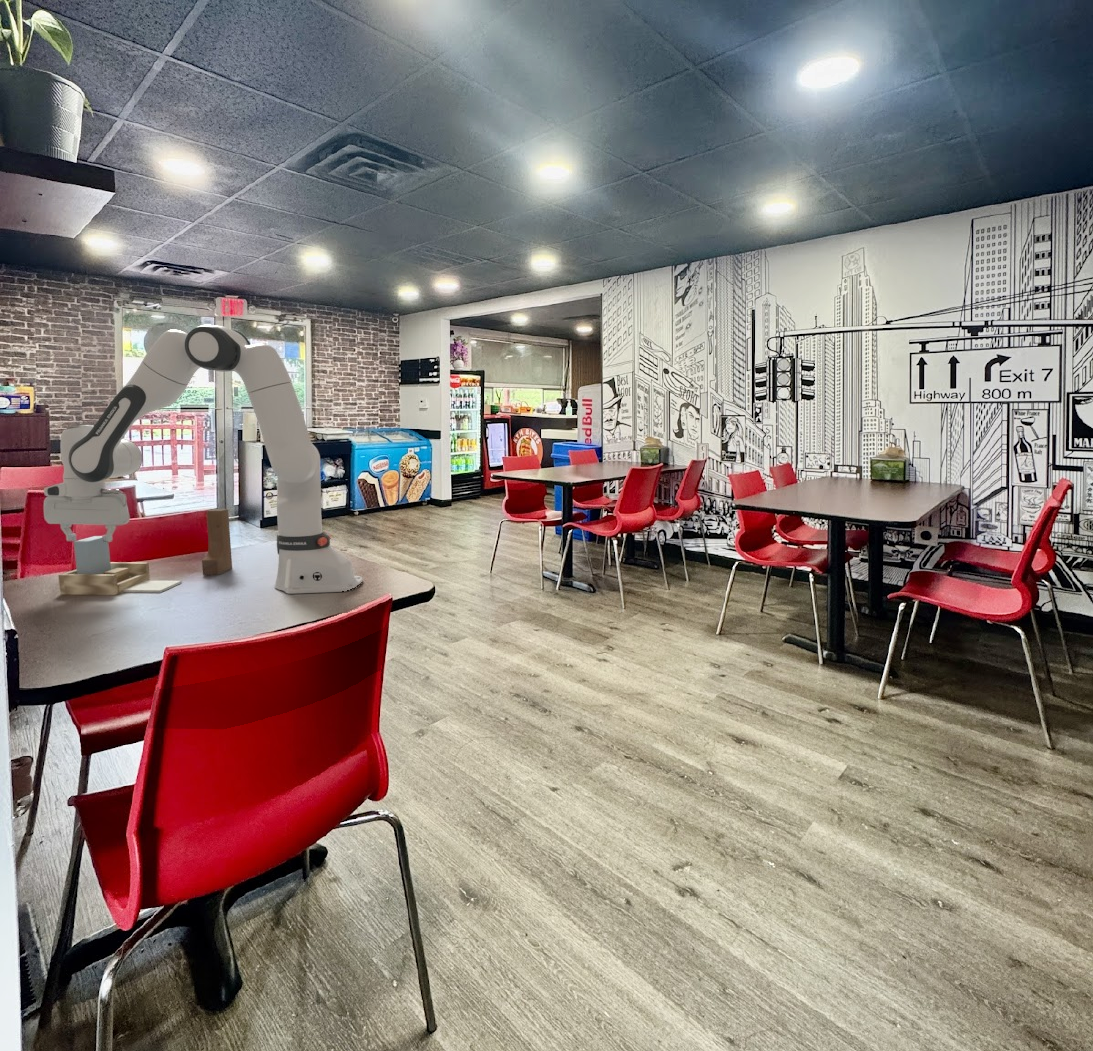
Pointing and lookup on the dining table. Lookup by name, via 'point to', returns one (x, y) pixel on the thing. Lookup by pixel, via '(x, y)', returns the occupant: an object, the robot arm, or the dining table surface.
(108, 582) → the tray
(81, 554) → the grey block
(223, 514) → the wooden block
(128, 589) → the felt pad
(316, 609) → the dining table surface
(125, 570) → the offcut oak
